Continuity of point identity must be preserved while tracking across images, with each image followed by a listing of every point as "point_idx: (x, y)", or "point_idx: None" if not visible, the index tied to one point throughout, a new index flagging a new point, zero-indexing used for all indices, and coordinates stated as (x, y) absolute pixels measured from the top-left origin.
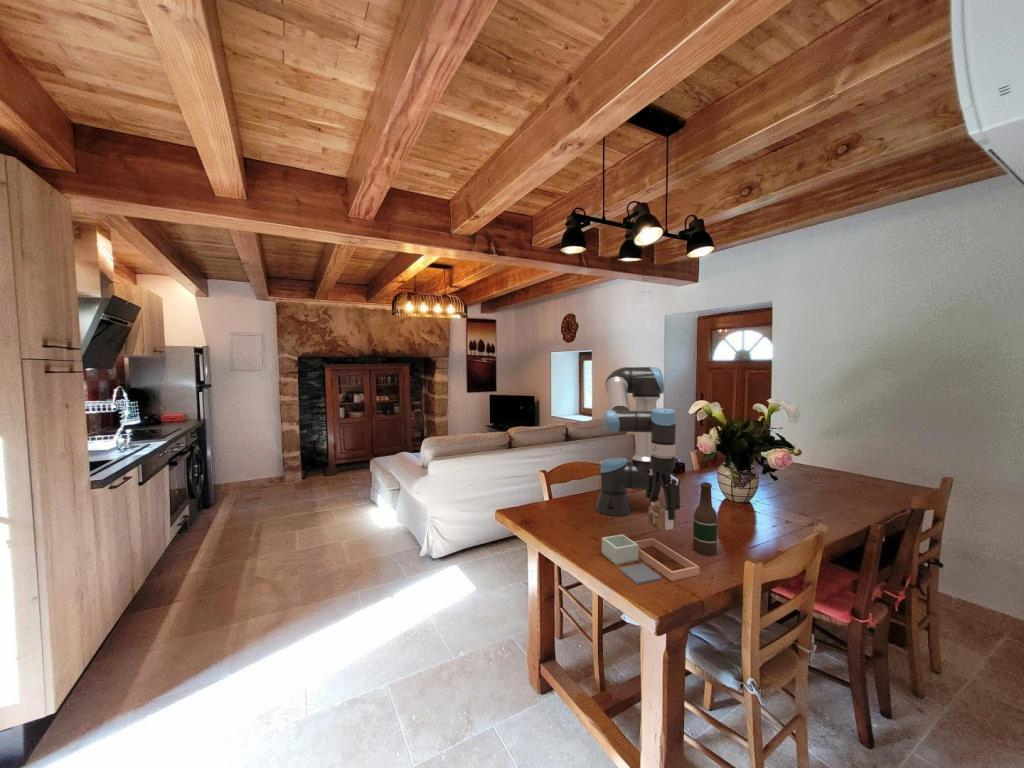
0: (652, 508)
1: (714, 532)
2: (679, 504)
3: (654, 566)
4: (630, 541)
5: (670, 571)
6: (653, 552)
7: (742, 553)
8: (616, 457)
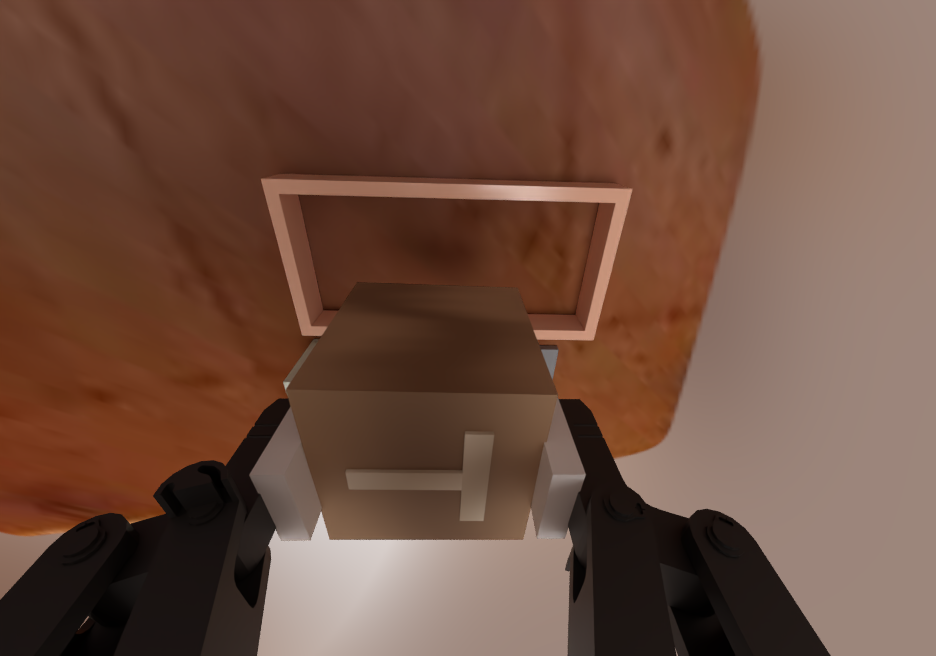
0: (397, 535)
1: None
2: (794, 614)
3: None
4: None
5: (583, 338)
6: (365, 233)
7: None
8: None
